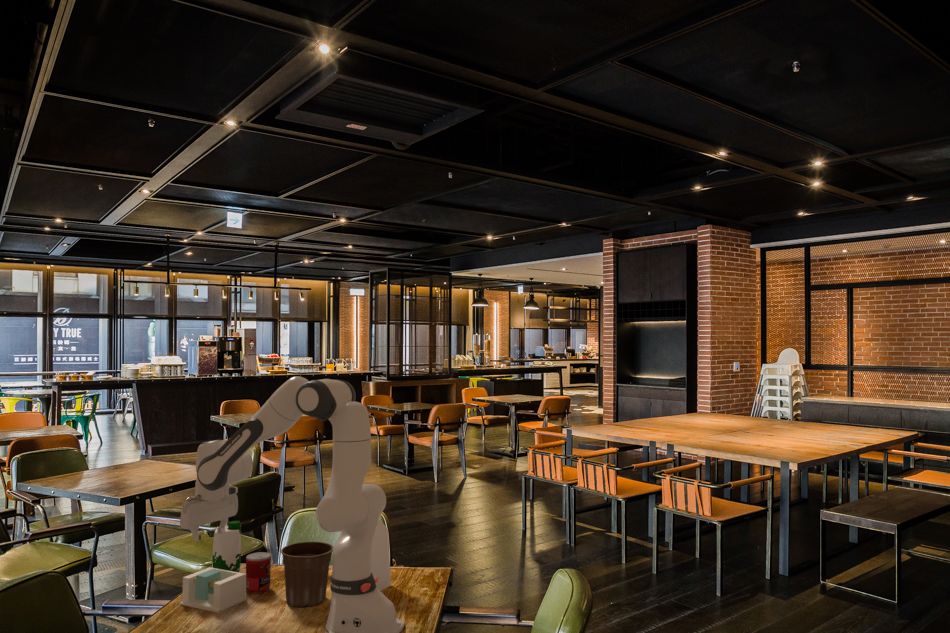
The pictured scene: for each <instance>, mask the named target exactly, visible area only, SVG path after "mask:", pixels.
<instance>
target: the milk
mask: <svg viewBox="0 0 950 633" xmlns="http://www.w3.org/2000/svg"><path fill="white" fill-rule="evenodd" d="M389 536H390V534H389V530H388V527H387V526H386V525H385V524H384V523H383V522H382V520H381V519H379V520H378V523H377V526H376V530H375V534H374V538H373V543H372V555H371V572H372V574H373V577H374V580H375V579H376V578H378V577H379V579H378V580H379V581H378V580H377V581H378V582H377V583H376V588H377V589H378V590H379V591H380V592H382V591H383V590H385V589H387V588H388V587H391V585H392V581H391V579H392V578H391V577H392V576H391V559H390V558H391V556H390V537H389Z"/></svg>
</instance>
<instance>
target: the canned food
mask: <svg viewBox="0 0 950 633" xmlns="http://www.w3.org/2000/svg"><path fill="white" fill-rule="evenodd" d="M271 563H272V554H271V553H269V552H264V551H261V552H260V551H259V552H252V553H250V554H248V555H246V557H245V574H246V593H249V594H260V593H261V594H262V593H264V592H267V591H269V589H270V588H271V574H272V573H271V570H272V569H271V568H272V567H271V566H272V564H271Z"/></svg>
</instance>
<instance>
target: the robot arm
mask: <svg viewBox="0 0 950 633" xmlns="http://www.w3.org/2000/svg"><path fill="white" fill-rule="evenodd" d="M356 394H357V393H356V390H355V388H354V387H353V385H352V384H351V383H350V382H348V381H346V380H343V379H330V378H323V379H312V380H310V381H309V379H307V378H306V377H303V376H299V375H298V376H292V377H290V378H289V379H287V380H286V381H285V382H284V383H282V384H281V385H280V386H279V387H278V388H277V389H276V390H275V391H274V392H273V393H272V394H271V396H270V397H269V398H268V399H267V400H266V401H265V403H264V404H263V405H262V406H260V408H259V409H258V410H257V411H256V412H255V413H254V414H253V415H252V416H251V417H250V418H249V419H248V420H247V421H246V422H245V423H244V424H243V425H242V426H240V428H238V429H237V431H235V432H234V433H233V434H232V435H231V436H230V438H228V439H227V440H226V441H225V440H223V439H216V440H215V439H214V440H209V441H204V442H202V443H200V444H199V446H198V447H197V451H196V457H195V458H196V459H195V471H196V480H195V483H194V484H195V486H194V489H195V490H194V492H195V493H194V496H188V497H186V499H185V500H184V501H183V502H182V504H181V505H182V508H181V512H180V518H179V526H180V528H181V529H183V530H189V531H190V532H191V534H192V536H193V542H200V541H201V540H202V534H201V533H199V532H198V531H199V530H200V527H201V526H205V525H208V524H211V523H215V522H218V521H219V522H220V523H219V526H217V527H218V528H217V527H216V528H217V530H218V531H217V533H220V534H221V533H224V532H225V526H227V525H228V522H229V518H231V517H234V516H236V515H237V513H238V511H239V498H238V492H239V490H238V489H239V487H237V486H233V485H234V484H237V483H242V482H243V481H245V480H247V479H249V478H250V477H251V475H252V473H253V471H254V462H253V460H254V459H252V457H251V455H250V454H249V453H248V451H249V450H250V449H252V448H253V447H254V446H256V445H259V443H261V442H264V441H267V440H269V439H272V438H275V437H278V436H281V435H283V434H285V433H286V432H288V430H290V429H291V428H292V427H294V426H295V424H297V422H298V421H299V420H300V419H301V418H302V416H303V415H305V416H306V417H307V416H308V417H310V418H313V419H317V420H320V421H322V422H325V421H327V420H328V421H329V422H330V423H331V426H332V465H331V466H332V467H331V471H330V472H331V473H330V478H329V481H328V485H327V488H326V490H325V493H324V495H323V497H322V498H321V500H320V501H319V503H318V504H317V507H316V510H315V517H316V521H317V523H318V525H319V527H320V528H321V529H322V530H323V531H325V532H327V533H339V532H340V534H339V537H338V539H337V541H336V542H335V543H334V545H333V547H334V548H333V551H332V566H331V567H332V571H331V572H332V574H331V576H330V592H331V597H330V604H329V612H328V617H327V621H326V623H325V629H326V631H327V632H328V633H401V632H402V630H404V628H405V622H404V620H402V619H400V618H397V612H396V607H395V605H394V603H393V602H392V601H391V600H390V599H389V598H388V597H387V596H386V595H385V594H384V593H383V592H382V591H379V590H378V589H377V588H376V583H377V582H378V581H379V580H378V579H379V577H378V578H376V579H375V580H374V577H373V574H372V572H371V555H372V543H373V538H374V534H375V530H376V526H377V523H378V520H380V517H381V515H382V513H383V511H384V510H385V507H386V506H387V497H386V493H385V491H384V490H383V488H382V487H380V486H379V485H378V484H375V483H364V481H365V478H366V475H367V473H368V472H369V470H370V469H371V466H372V434H371V433H372V432H371V431H372V430H371V422H370V416H369V411H368V409H367V406H366V405H364V404H363V403H361V402H359V401H356V399H357V398H356V397H357V395H356ZM377 580H378V581H377Z"/></svg>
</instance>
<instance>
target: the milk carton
mask: <svg viewBox="0 0 950 633" xmlns="http://www.w3.org/2000/svg"><path fill="white" fill-rule="evenodd" d="M218 527H219V526H217V527H216V529H215V531H214V533H213V540H212V565H211V568H217V569H222V570H228V571H233V572H239V573H240V570H241V562H242V525H241V520H231V521H228V522H227V525H226V526H225V532H224V533H221V534H220V533H217V531H218V530H217V528H218Z"/></svg>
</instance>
